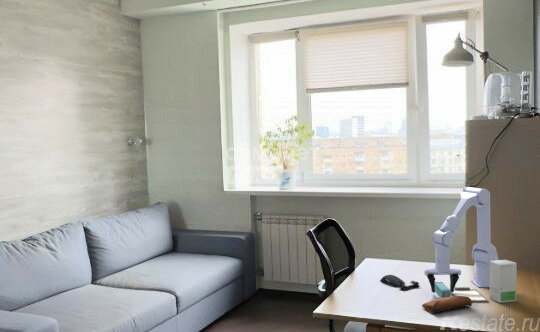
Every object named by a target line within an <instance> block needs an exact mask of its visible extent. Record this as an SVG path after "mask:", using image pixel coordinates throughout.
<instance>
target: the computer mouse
mask: <svg viewBox="0 0 540 332" xmlns="http://www.w3.org/2000/svg"><path fill="white" fill-rule="evenodd" d="M379 281H380V283H382V284H384V285H387V286H391V287H393V288H396V287H400V288H399V290H398V291H400V292H401V291H404V292H405V291H409V290H410V289H411V290H412V289H416V288H420V282H418V281H415V280H411V281H410V283H411V284H410V285H407V286H406V285H405V284H406V282H404V280H403V279H401V278H400V277H399V276H396V275H393V274H387V275H386V274H385V275H384V276H382V277H381V278H380V280H379Z"/></svg>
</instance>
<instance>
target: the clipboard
mask: <svg viewBox="0 0 540 332" xmlns="http://www.w3.org/2000/svg"><path fill="white" fill-rule="evenodd" d="M451 296H466V297H469V298H470V299H471V301H472V303H489V302H490V301H489V300H488V298H486V297H485V296H484V295H483V294H482V293H481V292H479V290H478V289H471V287H469V286H463V287H461V286H459V287H456V286H455V288H454V292H451Z"/></svg>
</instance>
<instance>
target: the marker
mask: <svg viewBox="0 0 540 332" xmlns="http://www.w3.org/2000/svg"><path fill="white" fill-rule="evenodd" d="M435 293H436V295H437V296H438V297H439V298H443V297H450V296H451V290H450V287H448V286H447V285H446V284H445V283H444V282H443V281H435Z"/></svg>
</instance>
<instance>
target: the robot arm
mask: <svg viewBox="0 0 540 332" xmlns="http://www.w3.org/2000/svg"><path fill="white" fill-rule="evenodd" d="M473 206H474V207H475V208H476V234H477V235H476V238H477V241H476V242H477V243H475V244H474V245H473V246H472V252H471V259H472V261H473V263H474V265H473V269H472V270H473V273H472V274H473V276H472V279H470V280H471V283H473V284H474V285H475V286H477V287H478V288H490V261H495V260H499V254H498V252H497V250H498V249H497V248H496V247H495V245H494V244H493V243H492V242H491V241H492V240H491V238H492V237H491V235H492V234H491V232H492V231H491V192H490V191H489V190H488V189H487V188H480V187H479V188H478V187H474V186H473V187H470V186H465V187H464V188H463V189H462V191H461V192H460V200H459V201H458V203H457V205H456V207H455V209H454V211H453V213H452V214H451V215H448V216H447V217H446V218H445V221H444V222H443V223H442V225H441V226H440V227H439V229H438V230H436V231H434V232H433V235H432V237H431V240H432V242H433V246H434V248H435V249H434V250H435V256H434V257H435V259H434V260H435V261H434V263H435V268H428V269H423V271H424V273H423V274H424V275H425V276H426V277H427V280H428V282H429V284H430V290H431V292H432V293H436V292H435V282H436V277H435V276H438V275H439V276H445V275H446V276H447V275H449V282H450V283H449V289H450V290H451V292H454V290H455V287H456V285H457V283H458V282H459V280H460V276H462V270H461V269H460V268H451V264H450V263H451V261H450V260H451V245H452V244H453V242H454V237H455V234H456V232H457V230H458V228H459V227H460V225H461V218H463V216H464V215H465V213H466V212H467V211H468V210H469V209H470V207H473Z"/></svg>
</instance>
